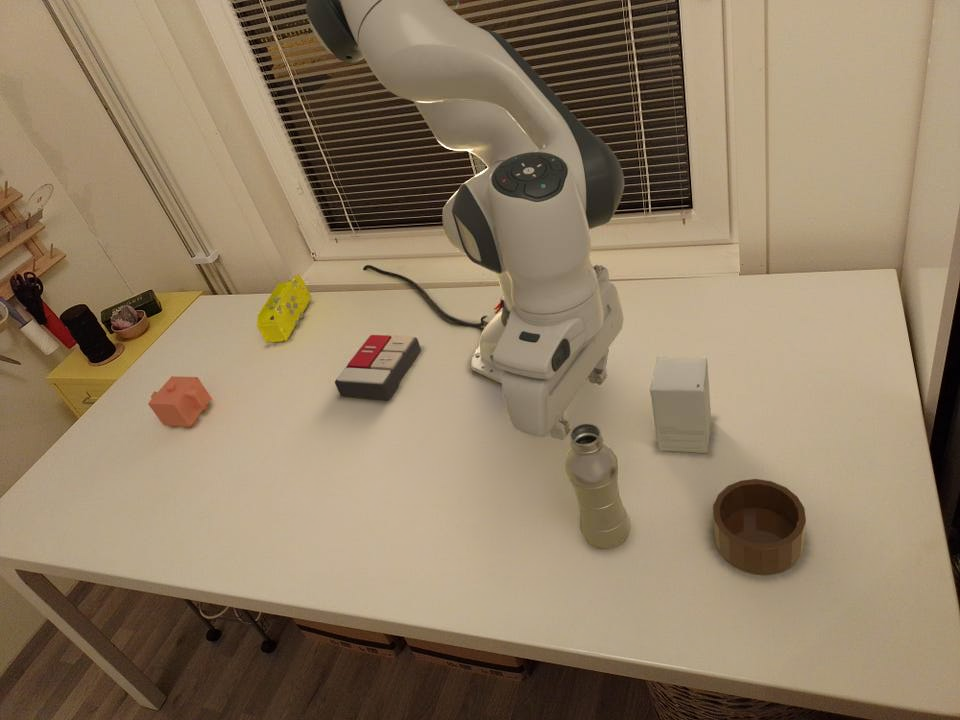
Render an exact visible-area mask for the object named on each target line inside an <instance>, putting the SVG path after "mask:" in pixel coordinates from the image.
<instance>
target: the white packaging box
mask: <svg viewBox="0 0 960 720" xmlns="http://www.w3.org/2000/svg"><path fill="white" fill-rule="evenodd" d="M649 394H650V398H651V405H652V414H653V420H654V427H655V428H654V429H655V435H656V441H657V447H658V451H665V452H681V453H699V454H708V453H709V444H710V437H711V428H712V427H711V426H712V410H711V394H710V380H709V366H708V358H707V356H686V357H685V356H657V357H656V359H655V364H654V370H653V374H652V378H651V383H650V387H649Z"/></svg>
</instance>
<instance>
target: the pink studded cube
mask: <svg viewBox="0 0 960 720" xmlns="http://www.w3.org/2000/svg"><path fill="white" fill-rule="evenodd" d="M212 400H213V399H212V397H211V395H210V394H209V392H208V391H207V389H206V388H205V385H204V384H203V383H202V381H201V380H200V379H199V377H198V376H176V375H175V376H170V378H169V379H168V380H167V381H166V382H165V383H164V384H163V385H162V386H161V388H159V390H158V391H154V392H152V394H151V395H150V400H149V401H148V403H147V404H148V406H149V408H150V409H151V410H152V411H153V413H154V414H155V415H156V417H157V418H158V420H159V421H160V423H161V424H162V425H163V426H167V427H168V426H169V427H185V428H187V427H188V428H189V427H193V426H195V425H196V424H197V419H198V417H199V416H200V415H201V413H203V412H206V411H207V410H208V408H209V406H208V405H209V404H210V403H211V401H212Z"/></svg>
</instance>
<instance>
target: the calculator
mask: <svg viewBox="0 0 960 720" xmlns="http://www.w3.org/2000/svg"><path fill="white" fill-rule="evenodd" d="M421 351H422V347H421V345H420V341H419V340H418V338H417V337H415V336H411V335H410V336H409V335H393V336H391V335H390V334H389V335H387V334H385V335H383V334H370V335H369V336H368V337H367V339H366V340H365V341H364V342H363V344H362V345H361V346H360V347H359V349H358V350H357V352H356V353H355V354H354V356H352V358H351V359H350V360H349V362H348V363H347V365H346V367H345V368H344V369H343V370H342V372H341V373H340V374H339V376H338V377H337V378H336V379H335V381H334V384H335V386H336V389H337V391H338V393H339V396H340V397H342V398H354V399H365V400H378V401H390V400H391V398H393V396H394V394H395V392H396V391H397V390H398V388H399V384H400V382H401V380H402V379H403V377H404V376H405V374H406V373H407V371H408V369H409V368H410V367H411V365H412V364H413V362H415V359H416V358H417V357H418V355H419V353H420V352H421Z"/></svg>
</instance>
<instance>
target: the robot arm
mask: <svg viewBox="0 0 960 720" xmlns="http://www.w3.org/2000/svg"><path fill="white" fill-rule="evenodd" d="M445 1H446V0H306V3H305V13H306V16H307V17H308V21H309V25H310V28H311V30H312V33H313V34H314V36H315V38H316V39H317V41H318V42H319V44H320V45H321V46H322V47H323V49H325V50H326V51H327V52H328V53H330V54H331V55H333V56H334V57H335V58H336V59H337V60H339V61H341V62H345V63H349V64H350V63H351V64H354V63H357V62H360V61H363V60H365V62H366V64H367V66H368V67H369V69H370V71H371V72H372V73H373V74H374V76H375V78H376V79H377V80H378V82H379V83H380V84H381V85H382V86H383V87H384V88H385V89H386V90H387V91H389V92H390V93H392V94H393V95H395V96H396V97H399V98H401V99H404V100H408V101H410V102H411V101H412V102H413V103H414V105H415V107H416V108H417V110H418V112H419V114H420V115H421V116H422V118H423V120H424V121H425V123H426V124H427V126H428V128H429V129H430V131H431V132H432V134H433V136H434V137H435V139H436V141H437V142H438V143H439V144H440V145H441V146H442V147H444V148H445V149H448V150H452V151H467V152H469V153H471V154H473V155H475V156H476V157H477V158H478V159H480V160H481V161H482V162H483V163H484V165H486V167H487V168H486V169H484V170H482V171H481V172H480V173H478V174H476V175H475V176H473V177H471V178H470V179H469V180H466V181H465V182H464V183H461V185H460V187H459V188H458V190H456V192H454V194H453V195H452V196H451V197H450V198H449V199H448V201H447V202H446V203H445V204H444V206H443V208H442V213H441V216H442V217H441V221H442V227H443V231H444V233H445V235H446V237H447V239H448V241H449V242H450V244H451V245H452V246H453V247H454V248H455V249H456V250H458V251H459V252H460V253H462V254H464V255H466V256H467V258H468V259H469V260H470V261H471V262H472V263H473V264H476V265H478V266H480V267H482V268H484V269H486V270H488V271H490V272H493V273H495V275H496V277H497V280H498V283H499V287H500V289H501V293H502V296H501V297H500V299H499V302H498V303H497V304H496V305H495V307H494V308H493V312H492V313H490V314H489V315H483V316H481V318H480V322H479V323H472V322H467V321H464V320H462V319H458V318H456V317H454V316H452V315H450V314H449V313H446V312H445V310H443V309H442V308H441V307H440V306H439V305H438V304H437V303H436V301H434V300H433V299H432V298H431V296H430V295H429V294H428V293H427V292H426V291H425V290H424V289H423V288H422V287H421V285H419V284H417V283H416V282H415V281H413V280H412V279H410V278H409V277H406V276H404V275H401V274H398V273H394V272H391V271H386V270H383V269H381V268H378V267H376V266H374V265H371V264H366V265H364V266H363V267H362V270H363V271H366V270H367V269H370V270H373V271H374V272H377V273H379V274H382V275H385V276H389V277H394V278H397V279H400V280H401V281H402V280H403V281H404V282H407V283H409V284H410V285H411V286H413V287H414V288H415V289H416V290H418V291H419V292H420V294H422V295H423V296H424V297H425V299H426V300H427V302H429V303H430V305H431V306H432V307H433V308H435V310H436V311H437V312H438V313H439V314H440V315H441V316H442V317H444V318H445V319H447V320H449V321H451V322H453V323H456V324H459V325H461V326H466V327H473V328H482V327H484V329H483V330H482V332H481V334H480V337H479V342H478V343H479V344H478V347H477V348H476V349H475V350H474V352H473V355H472V357H471V361H470V366H471V370H472V371H474V372H476V373H478V374H480V375H482V376H484V377H486V378H489V379H490V380H493V381H494V382H497V383H499V384H500V385H501V391H502V395H503V401H504V404H505V407H506V411H507V415H508V418H509V420H510V422H511V425H512V427H513V428H514V429H515V430H516V431H518V432H520V433H523V434H526V435H528V436H532V437H537V438H545V437H547V436H548V435H549V434H550V436H551V437H552V439H556V440H558V441H565V439H566V438H567V436H568V435H569V434H570V432H571V428H570V423H569V421H568V420H565V419H562V416H563V414H564V412H565V411H566V409H567V408H568V406H569V405H570V404H571V402H572V401H573V400H574V398H575V396H576V395H577V393H578V392H579V391H580V390H581V388H582V386H584V384H585V382H586V381H587V380H588V382H589V383H590V384H592V385H597V386H601V385H602V384H603V383H604V382H605V380H606V379H607V377H608V373H607V364H608V357H609V352H610V347H611V346H612V344H613V343H614V341H615V339H616V338H617V337H618V335H619V334H620V332H621V331H622V329H623V324H624V312H623V307H622V304H621V300H620V299H621V298H620V295H619V292H618V290H617V287H616V285H615V284H614V283H613V282H611V281H610V275H609V270H608V268H607V267H606V266H604V265H603V264H599V265H598V264H596V265H594V266H593V264H592V260H591V253H592V238H591V237H592V236H591V232H590V230H591V229H595V228H597V227H600V226H603V225H606V224H608V223H609V222H610V221H611V220H612V218H613V216H614V215H615V213H616V211H617V209H618V207H619V205H620V203H621V199H622V196H623V194H624V189H625V176H624V171H623V168H622V166H621V163H620V161H619V159H618V157H617V156H616V154H615V153H614V151H613V150H612V149H611V147H609V145H608V144H607V143H606V142H605V141H603V139H601V138H600V137H599V136H597V135H596V134H595V133H593V132H592V131H591V130H590V129H589V128H588V127H586V126H585V125H584V124H583V123H582V122H580V120H579V119H578V118H577V117H576V116H575V115H574V114H573V113H572V112H571V111H570V110H569V108H568V107H567V106H566V105H565V103H564V102H563V101H562V100H561V99H560V98H559V96H558V95H556V93H555V92H554V91H553V90H552V89H551V87H549V86H548V85H547V83H546V82H545V81H544V80H543V78H542V77H541V76H540V75H539V74H538V73H537V72H536V71H535V69H533V67H532V66H531V65H530V64H529V63H528V62H527V60H526V59H525V58H524V57H523V56H522V55H521V54H520V53H519V52H518V51H517V50H516V49H515V48H514V47H513V46H512V45H511V44H510V42H509V41H507V39H505V38H504V37H503V36H502V35H500V34H499V33H498V32H496V31H493V30H489V29H485V28H481V27H480V26H476V25H475V24H474V23H473V24H472V22H470V21H468V20H467V19H465V18H463V17H462V16H460V15H459V14H458V13H456V12H455V11H454V10H453V9H452V8H451V7H450V6H449V5H448V4H447V3H446V2H445ZM451 2H452V3H453V4H454V7H455V8H457V7H458V6H459V4H460V3H459V0H451Z"/></svg>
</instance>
